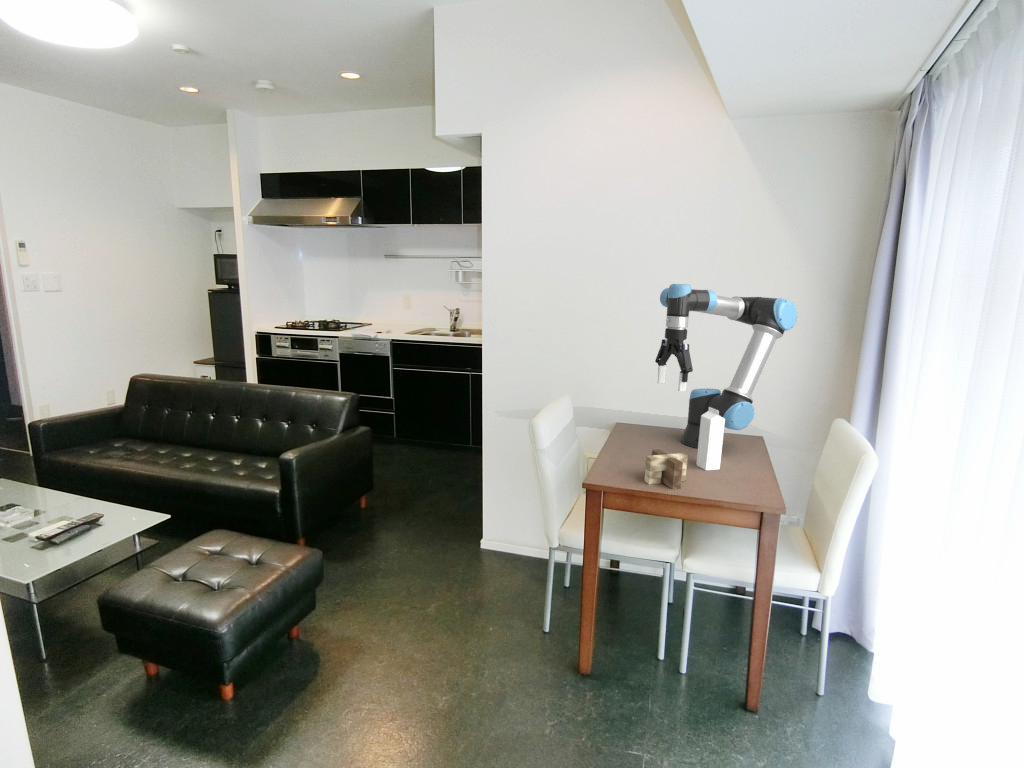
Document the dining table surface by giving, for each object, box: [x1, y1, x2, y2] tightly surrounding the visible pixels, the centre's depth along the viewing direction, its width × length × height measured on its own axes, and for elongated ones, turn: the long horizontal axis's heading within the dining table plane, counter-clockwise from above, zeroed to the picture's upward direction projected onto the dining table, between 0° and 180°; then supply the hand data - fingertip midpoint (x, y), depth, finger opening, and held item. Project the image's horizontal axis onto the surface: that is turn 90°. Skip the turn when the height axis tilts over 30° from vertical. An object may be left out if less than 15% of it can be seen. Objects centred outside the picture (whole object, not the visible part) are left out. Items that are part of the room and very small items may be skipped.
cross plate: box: [643, 452, 689, 485], centre depth 198 cm, size 14×3×9 cm, turn 108°
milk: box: [696, 407, 725, 471], centre depth 212 cm, size 6×6×22 cm
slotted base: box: [651, 448, 683, 490], centre depth 198 cm, size 3×14×9 cm, turn 18°
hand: (671, 386), depth 212 cm, fingers open, 13 cm apart
